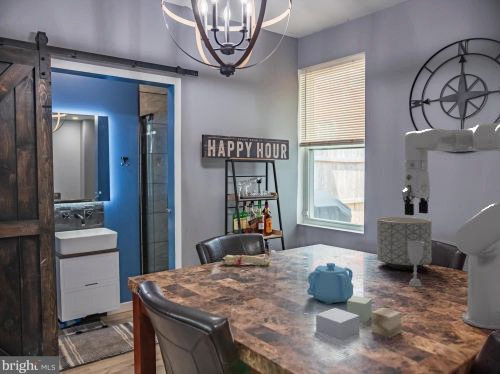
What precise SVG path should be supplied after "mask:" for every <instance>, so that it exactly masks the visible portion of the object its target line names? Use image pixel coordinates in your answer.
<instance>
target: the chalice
mask: <svg viewBox="0 0 500 374" xmlns="http://www.w3.org/2000/svg"><path fill="white" fill-rule="evenodd" d="M407 243H408V255H409V258H410V260H411V262H412V263H413V264H414V268H413V272H412V273H413V278H411V279H410V281H409V283H408V285H409V286H412V287H422V285H423V284H422V283H421V280H420V279H419V278H417V275H418V272H417V271H418V268H417V267H416V266H417V264H419V262H420V260H421V259H422V256H423V244H424V242H422V241H407Z"/></svg>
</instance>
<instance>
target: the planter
mask: <svg viewBox="0 0 500 374" xmlns="http://www.w3.org/2000/svg"><path fill="white" fill-rule="evenodd" d="M376 220H377V221H376V227H377V229H376V231H377V232H376V234H377V235H376V241H377V243H376V250H377V251H376V258H377V260H378V261H380V262H383V263H385V265H387V266H389V267H390V268H392V269H395V270H401V271H402V270H403V271H412V270H413V271H414V269H413V268H414V264H413V263H412V262H411V260H410V258H409V255H408V243H407V241H422V242H424V244H423V256H422V259H421V260H420V262H419V264H417V266H416V267H417V269H419V268H422V267H423V266H424V265H429V264H431V263H432V220H431V219H428V218H424V217H423V218H422V217H412V216H385V217H378V218H377V219H376Z"/></svg>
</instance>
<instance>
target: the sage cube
mask: <svg viewBox="0 0 500 374" xmlns="http://www.w3.org/2000/svg"><path fill="white" fill-rule="evenodd" d="M372 303H373V299H372V298H369V297H368V298H367V297H362V296H357V295H352V297H351V298H350V299H349V300H347V303H346V307H347V308H346V310H347V312H350V313H353V314H356V315H359V322H360V323H361V322H362V323H367V322H368V321H369V320H370V319H372V312H373V310H372V309H373V307H372V306H373V305H372Z"/></svg>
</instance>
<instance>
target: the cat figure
mask: <svg viewBox="0 0 500 374" xmlns="http://www.w3.org/2000/svg"><path fill="white" fill-rule="evenodd" d="M264 254H266V255H265V256H264V257H261V256H260V257H259V256H254V255H244V253H242V254H241V255H240V254H238V255H237V254H236V255H231V254H227V255H226V256H224V257H223V258H221V261H220V262H221V264H222V265H227V266H232V265H233V264H234V263H237V264H238V265H239V267H241V266H242V265H241V263H252V264H257V265H262V266H265V265H267V267H270V265H269V264H270V263H271V259H269V257H270V256H271V254H270V252H269V251H268V250H265V253H264ZM267 258H268V259H267Z"/></svg>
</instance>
